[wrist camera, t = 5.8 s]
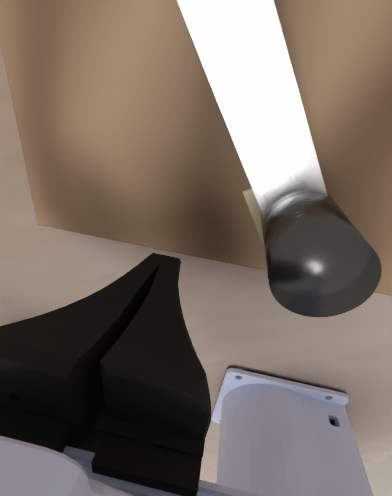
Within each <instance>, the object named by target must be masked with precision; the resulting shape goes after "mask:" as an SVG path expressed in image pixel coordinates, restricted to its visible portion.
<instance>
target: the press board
mask: <svg viewBox="0 0 392 496" xmlns="http://www.w3.org/2000/svg"><path fill="white" fill-rule="evenodd" d="M274 3H275V7H276V10H277V14H278V18H279V21H280V25H281V29H282V32H283V36H284V39H285V43H286V47H287V50H288V54H289V58H290V61H291V65H292V68H293V72H294V76H295V79H296V83H297V87H298V90H299V94H300V97H301V101H302V105H303V108H304V112H305V116H306V119H307V123H308V126H309V130H310V134H311V137H312V141H313V145H314V148H315V152H316V155H317V159H318V163H319V166H320V170H321V174H322V177H323V181H324V184H325V188H326V191H327V192H328V193H329V195H330V196H331V197H332V198H333V200H334V201H335V202H336V203H337V205H338V206H339V207H340V208H341V210H342V211H343V212H344V213H345V214H346V216H347V217H348V218H349V219H350V221H351V222H352V223H353V224H354V226H355V227H356V228H357V229H358V231H359V232H360V233H361V234H362V236H363V237H364V238H365V239H366V241H367V242H368V243H369V244H370V246H371V247H372V248H373V249H374V251H375V252H376V253H377V255H378V257H379V259H380V262H381V268H382V272H381V278H380V282H379V284H378V286H377V288H376V289H375V291H374V292H376V293H381V294H386V295H391V296H392V0H274ZM0 43H1V48H2V53H3V58H4V63H5V67H6V72H7V77H8V82H9V87H10V92H11V97H12V102H13V106H14V111H15V116H16V121H17V126H18V131H19V136H20V141H21V145H22V150H23V155H24V160H25V165H26V170H27V175H28V180H29V185H30V189H31V194H32V199H33V204H34V209H35V214H36V219H37V224H38V225H42V226H47V227H52V228H57V229H62V230H67V231H72V232H77V233H82V234H87V235H92V236H97V237H102V238H107V239H112V240H117V241H122V242H127V243H132V244H136V245H141V246H146V247H151V248H156V249H161V250H166V251H171V252H176V253H181V254H186V255H191V256H196V257H201V258H206V259H211V260H216V261H221V262H226V263H231V264H236V265H241V266H246V267H251V268H256V269H261V270H266V271H267V263H266V255H265V247H264V239H263V231H262V223H261V215H260V211H261V209H260V207H259V204H258V202H257V199H256V197H255V194H254V192H253V189H252V187H251V184H250V182H249V179H248V177H247V174H246V172H245V169H244V167H243V164H242V162H241V159H240V157H239V154H238V152H237V149H236V147H235V144H234V142H233V139H232V137H231V134H230V132H229V129H228V127H227V124H226V122H225V119H224V117H223V114H222V112H221V109H220V107H219V104H218V102H217V99H216V97H215V94H214V92H213V89H212V87H211V84H210V82H209V79H208V77H207V74H206V72H205V69H204V67H203V64H202V62H201V59H200V57H199V54H198V52H197V49H196V47H195V44H194V42H193V39H192V37H191V34H190V32H189V29H188V27H187V24H186V22H185V19H184V17H183V14H182V12H181V9H180V7H179V4H178V2H177V0H0Z"/></svg>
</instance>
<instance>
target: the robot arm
mask: <svg viewBox="0 0 392 496" xmlns="http://www.w3.org/2000/svg"><path fill="white" fill-rule="evenodd" d="M180 264H181V260H180V259H179V258H175V257H170V256H165V255H160V254H155V253H153V254H151V255H150V256H148V257H147V258H146V259H145V260H143V261H142V262H141V263H140V264H138V265H137V266H136V267H134V268H133V269H132V270H130V271H129V272H127V273H126V274H125V275H123V276H122V277H120V278H119V279H117V280H116V281H114V282H113V283H111V284H109V285H108V286H106V287H104V288H103V289H101V290H99V291H97V292H95V293H94V294H92V295H90V296H88V297H86V298H83V299H81V300H79V301H76V302H74V303H72V304H69V305H67V306H65V307H62V308H59V309H57V310H54V311H51V312H48V313H45V314H42V315H39V316H36V317H33V318H29V319H26V320H22V321H19V322H15V323H11V324H8V325H3V326H1V327H0V496H373V494H372V491H371V487H370V484H369V481H368V478H367V475H366V472H365V468H364V465H363V462H362V459H361V456H360V453H359V449H358V446H357V443H356V440H355V437H354V434H353V431H352V427H351V424H350V421H349V418H348V415H347V412H346V408H345V405H346V404H347V403H348V401H349V399H348V396H347V395H346V394H345V393H342V392H338V391H333V390H329V389H324V388H320V387H315V386H311V385H306V384H302V383H298V382H293V381H289V380H284V379H280V378H275V377H271V376H267V375H262V374H258V373H253V372H249V371H244V370H240V369H236V368H229V369H227V370H226V373H225V376H224V379H223V382H222V385H221V389H220V392H219V395H218V398H217V401H216V404H215V407H214V410H213V413H212V421H213V422H215V423H219V424H221V426H220V440H219V454H218V468H217V482H216V484H214V483H210V482H206V481H202V480H199V477H200V469H201V460H202V456H203V451H204V442H205V437H206V434H207V431H208V428H209V425H210V422H211V401H210V393H209V388H208V383H207V377H206V373H205V371H204V369H203V367H202V365H201V363H200V361H199V359H198V357H197V354H196V352H195V350H194V347H193V345H192V342H191V339H190V337H189V334H188V331H187V328H186V325H185V321H184V318H183V314H182V309H181V304H180V298H179V290H178V279H179V272H180Z"/></svg>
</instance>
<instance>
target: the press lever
mask: <svg viewBox="0 0 392 496" xmlns="http://www.w3.org/2000/svg"><path fill="white" fill-rule="evenodd" d="M177 2H178V4H179V7H180V9H181V12H182V14H183V17H184V19H185V22H186V24H187V27H188V29H189V32H190V34H191V37H192V39H193V42H194V44H195V47H196V49H197V52H198V54H199V57H200V59H201V62H202V64H203V67H204V69H205V72H206V74H207V77H208V79H209V82H210V84H211V87H212V89H213V92H214V94H215V97H216V99H217V102H218V104H219V107H220V109H221V112H222V114H223V117H224V119H225V122H226V124H227V127H228V129H229V132H230V134H231V137H232V139H233V142H234V144H235V147H236V149H237V152H238V154H239V157H240V159H241V162H242V164H243V167H244V169H245V172H246V174H247V177H248V179H249V182H250V184H251V187H252V189H253V192H254V194H255V197H256V199H257V202H258V204H259V207H260V209H261V211H260V215H261V223H262V231H263V239H264V247H265V255H266V263H267V271H268V279H269V286H270V289H271V292H272V294H273V296H274V297H275V299H276V300H277V301H278V302H279V303H280V304H281V305H282V306H283V307H285V308H286V309H288V310H290V311H292V312H294V313H297V314H300V315H304V316H310V317H328V316H334V315H338V314H342V313H345V312H347V311H350V310H352V309H354V308H356V307H357V306H359V305H361V304H362V303H363V302H365V301H366V300H367V299H368V298H369V297H370V296H371V295H372V294H373V292H374V291H375V289H376V288H377V286H378V284H379V282H380V278H381V272H382V268H381V262H380V259H379V257H378V255H377V253H376V252H375V251H374V249H373V248H372V247H371V246H370V244H369V243H368V242H367V241H366V239H365V238H364V237H363V236H362V234H361V233H360V232H359V231H358V229H357V228H356V227H355V226H354V224H353V223H352V222H351V221H350V219H349V218H348V217H347V216H346V214H345V213H344V212H343V211H342V210H341V208H340V207H339V206H338V205H337V203H336V202H335V201H334V200H333V198H332V197H331V196H330V195H329V193H328V192H327V191H326V188H325V184H324V181H323V177H322V174H321V170H320V166H319V163H318V159H317V155H316V152H315V148H314V145H313V141H312V137H311V134H310V130H309V126H308V123H307V119H306V116H305V112H304V108H303V105H302V101H301V97H300V94H299V90H298V87H297V83H296V79H295V76H294V72H293V68H292V65H291V61H290V58H289V54H288V50H287V47H286V43H285V39H284V36H283V32H282V29H281V25H280V21H279V18H278V14H277V10H276V7H275V3H274V0H177Z"/></svg>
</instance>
